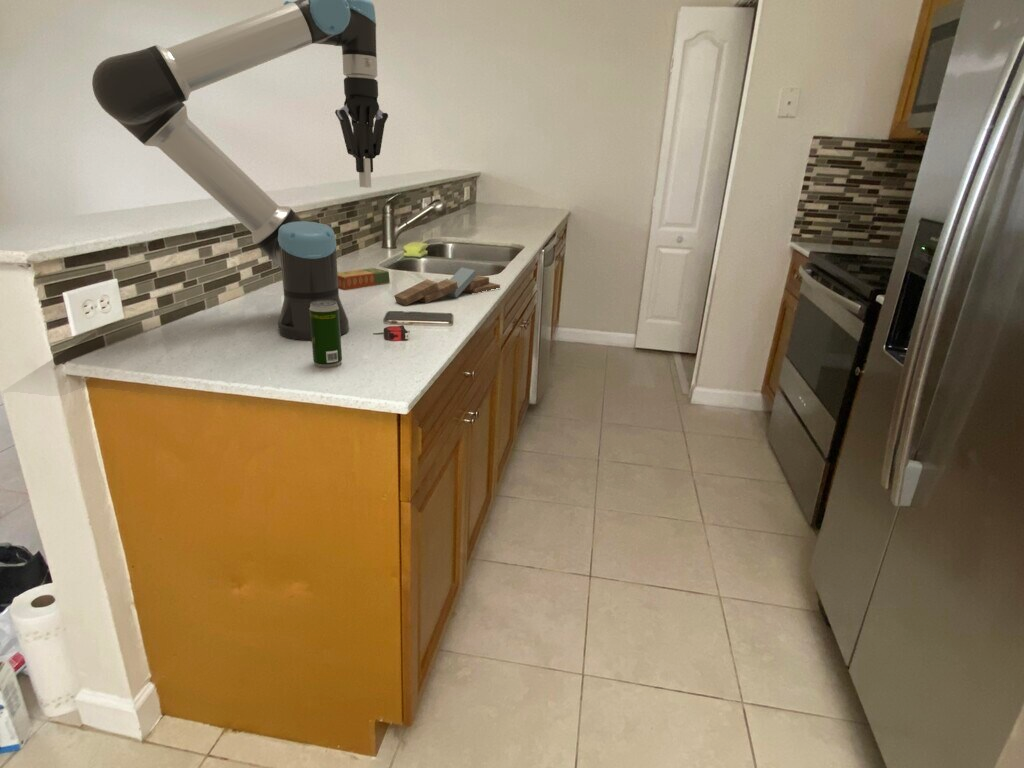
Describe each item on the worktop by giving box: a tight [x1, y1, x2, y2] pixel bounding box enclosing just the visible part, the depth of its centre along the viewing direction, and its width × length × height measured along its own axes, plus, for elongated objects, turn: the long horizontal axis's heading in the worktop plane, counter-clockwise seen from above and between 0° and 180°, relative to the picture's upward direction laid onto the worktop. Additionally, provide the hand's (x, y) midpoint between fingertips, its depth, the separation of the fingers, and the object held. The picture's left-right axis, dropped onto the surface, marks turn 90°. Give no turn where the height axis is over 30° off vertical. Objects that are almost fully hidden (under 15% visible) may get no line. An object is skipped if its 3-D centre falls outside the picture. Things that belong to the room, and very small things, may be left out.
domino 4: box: [465, 274, 490, 290], centre depth 187 cm, size 2×5×11 cm
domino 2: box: [417, 278, 458, 304], centre depth 174 cm, size 2×5×11 cm
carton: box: [337, 267, 391, 291], centre depth 188 cm, size 8×16×4 cm, turn 138°
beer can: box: [309, 300, 343, 369], centre depth 119 cm, size 5×5×12 cm
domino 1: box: [393, 278, 439, 307], centre depth 170 cm, size 2×5×11 cm
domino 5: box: [462, 281, 501, 294], centre depth 188 cm, size 2×5×11 cm
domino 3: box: [444, 267, 477, 299], centre depth 180 cm, size 2×5×11 cm
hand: (365, 186), depth 149 cm, fingers closed
